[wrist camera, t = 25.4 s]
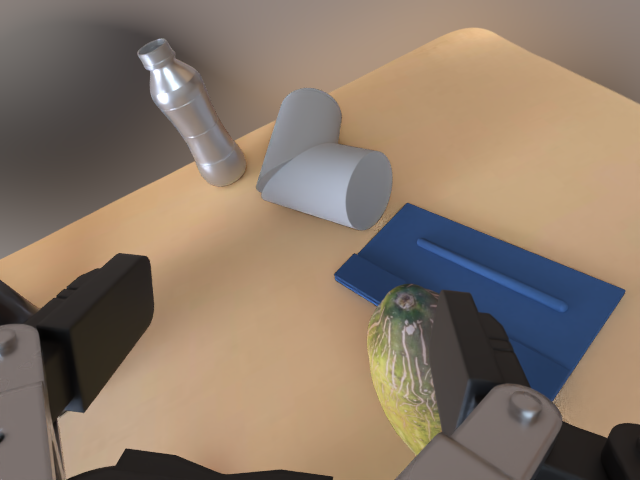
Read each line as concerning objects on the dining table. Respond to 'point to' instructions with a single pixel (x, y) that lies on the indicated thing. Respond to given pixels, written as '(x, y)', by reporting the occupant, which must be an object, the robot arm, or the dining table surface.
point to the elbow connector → (322, 165)
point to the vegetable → (405, 363)
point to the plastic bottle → (192, 114)
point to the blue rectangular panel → (490, 288)
